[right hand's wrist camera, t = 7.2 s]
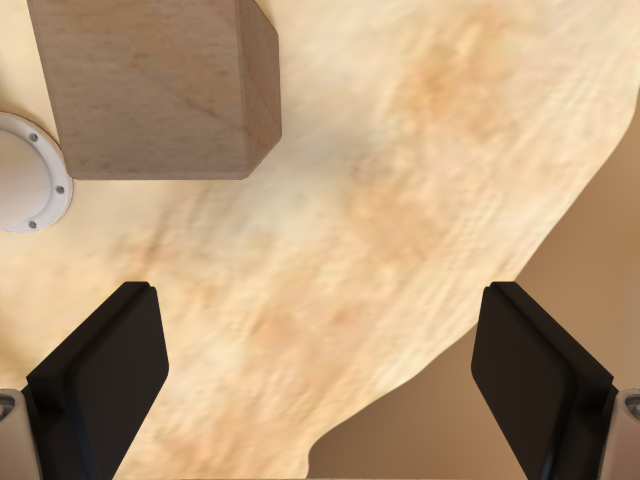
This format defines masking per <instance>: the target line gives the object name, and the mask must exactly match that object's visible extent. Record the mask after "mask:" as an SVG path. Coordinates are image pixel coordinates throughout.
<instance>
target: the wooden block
mask: <svg viewBox="0 0 640 480" xmlns="http://www.w3.org/2000/svg"><path fill="white" fill-rule="evenodd" d="M27 4H28V9H29V13H30V17H31V21H32V26H33V30H34V34H35V38H36V43H37V47H38V51H39V56H40V60H41V64H42V68H43V73H44V77H45V81H46V85H47V90H48V94H49V98H50V102H51V107H52V111H53V115H54V120H55V124H56V128H57V132H58V137H59V141H60V145H61V149H62V154H63V158H64V162H65V167H66V171H67V173H68V175H69V177H70V178H73V179H77V180H242V179H244V178H247V177H248V176H249V175H250V174H251V173H252V172H253V170H254V169H255V168H256V167H257V166H258V165H259V163H260V162H261V161H262V160H263V159H264V158H265V157H266V155H267V154H268V153H269V152H270V151H271V150H272V148H273V147H274V146H275V145H276V144H277V143H278V142H279V140H280V139H281V136H282V128H281V101H280V74H279V47H278V34H277V32H276V30H275V29H274V27H273V26H272V24H271V23H270V21H269V20H268V19H267V17H266V16H265V14H264V13H263V11H262V10H261V9H260V7H259V6H258V4H257V3H256V1H255V0H27Z"/></svg>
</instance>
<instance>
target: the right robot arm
mask: <svg viewBox="0 0 640 480" xmlns="http://www.w3.org/2000/svg"><path fill="white" fill-rule="evenodd" d="M72 191H73V182H72V178H70V177H69V175H68V173H67V171H66V167H65V162H64V158H63V154H62V151H61V150H60V148H59V147H58V145H57V144H56V143H55V141H54V140H53V139H52V138H51V137H50V136H49V135H48V134H47V133H46V132H45V131H43V130H42V129H41V128H39V127H38V126H37V125H35V124H34V123H32V122H30V121H28V120H26V119H25V118H22V117H20V116H17V115H14V114H11V113H5V112H0V231H1V230H5V231H10V232H16V233H29V232H34V231H39V230H41V229H43V228H46V227H48V226H50V225H52V224H53V223H55V222H57V221H58V220H59V219H60V218H61V217H62V216H63V215H64V213H65V212H66V210H67V209H68V207H69V204H70V201H71V199H72ZM471 371H472V376H473V378H474V380H475V382H476V384H477V386H478V388H479V390H480V391H481V393H482V395H483V397H484V399H485V401H486V403H487V404H488V406H489V408H490V410H491V412H492V414H493V415H494V417H495V419H496V421H497V423H498V425H499V427H500V428H501V430H502V432H503V434H504V436H505V438H506V440H507V441H508V443H509V445H510V447H511V449H512V451H513V452H514V454H515V456H516V458H517V460H518V462H519V464H520V466H521V467H522V469H523V471H524V473H525V475H526V477H527V479H528V480H640V389H625V390H622V391H620V392H619V391H618V390H617V389H616V388H615V387H614V386H613V385H612V381H613V378H614V377H613V376H612V375H611V374H610V373H609V372H608V371H607V370H606V369H605V368H604V367H603V366H602V365H601V364H600V363H599V362H598V361H597V360H596V359H595V358H594V357H593V356H592V355H591V354H590V353H589V352H587V351H586V350H585V349H584V348H583V347H582V346H581V345H580V344H579V343H578V342H577V341H576V340H575V339H574V338H573V337H572V336H571V335H570V334H569V333H568V332H567V331H566V330H565V329H564V328H563V327H562V326H560V325H559V324H558V323H557V322H556V321H555V320H554V319H553V318H552V317H551V316H550V315H549V314H548V313H547V312H546V311H545V310H544V309H543V308H542V307H541V306H540V305H539V304H538V303H537V302H536V301H535V300H534V299H532V298H531V297H530V296H529V295H528V294H527V293H526V292H525V291H524V290H523V289H522V288H521V287H520V286H519V285H518V284H517V283H516V282H492V283H491V284H490V287H485V289H484V291H483V297H482V303H481V309H480V314H479V320H478V327H477V332H476V338H475V344H474V350H473V356H472V362H471ZM168 372H169V362H168V356H167V350H166V344H165V338H164V332H163V326H162V320H161V314H160V309H159V303H158V297H157V291H156V289H155V287H150V284H149V283H148V282H124V283H123V284H122V285H121V286H120V287H119V288H118V289H117V290H116V291H115V292H114V293H113V294H112V295H111V296H110V297H109V298H108V299H106V300H105V301H104V302H103V303H102V304H101V305H100V306H99V307H98V308H97V309H96V310H95V311H94V312H93V313H92V314H91V315H90V316H89V317H88V318H87V319H86V320H85V321H84V322H83V323H82V324H81V325H79V326H78V327H77V328H76V329H75V330H74V331H73V332H72V333H71V334H70V335H69V336H68V337H67V338H66V339H65V340H64V341H63V342H62V343H61V344H60V345H59V346H58V347H57V348H56V349H55V350H54V351H53V352H51V353H50V354H49V355H48V356H47V357H46V358H45V359H44V360H43V361H42V362H41V363H40V364H39V365H38V366H37V367H36V368H35V369H34V370H33V371H32V372H31V373H30V374H29V375H28V376H27V377H26V378H27V381H28V385H27V386H26V387H25V388H24V389H23V390H22V391H21V392H20V391H18V390H15V389H0V480H112V479H113V477H114V475H115V473H116V471H117V469H118V467H119V466H120V464H121V462H122V460H123V458H124V456H125V454H126V453H127V451H128V449H129V447H130V445H131V443H132V441H133V440H134V438H135V436H136V434H137V432H138V430H139V428H140V427H141V425H142V423H143V421H144V419H145V417H146V415H147V414H148V412H149V410H150V408H151V406H152V404H153V403H154V401H155V399H156V397H157V395H158V393H159V391H160V390H161V388H162V386H163V384H164V382H165V380H166V378H167V376H168ZM182 480H457V479H182Z"/></svg>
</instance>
